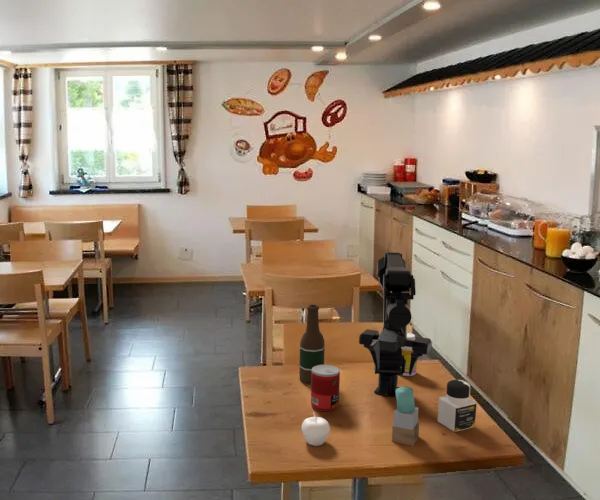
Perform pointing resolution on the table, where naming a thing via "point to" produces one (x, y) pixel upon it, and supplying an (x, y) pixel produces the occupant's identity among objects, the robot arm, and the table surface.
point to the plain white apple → (315, 430)
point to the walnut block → (405, 435)
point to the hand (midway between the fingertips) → (393, 371)
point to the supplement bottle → (408, 356)
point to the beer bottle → (311, 346)
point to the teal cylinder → (405, 399)
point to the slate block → (406, 419)
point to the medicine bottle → (457, 407)
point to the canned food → (325, 387)
